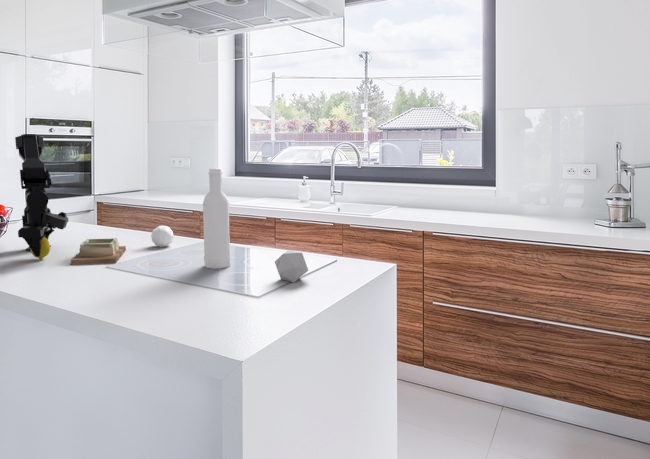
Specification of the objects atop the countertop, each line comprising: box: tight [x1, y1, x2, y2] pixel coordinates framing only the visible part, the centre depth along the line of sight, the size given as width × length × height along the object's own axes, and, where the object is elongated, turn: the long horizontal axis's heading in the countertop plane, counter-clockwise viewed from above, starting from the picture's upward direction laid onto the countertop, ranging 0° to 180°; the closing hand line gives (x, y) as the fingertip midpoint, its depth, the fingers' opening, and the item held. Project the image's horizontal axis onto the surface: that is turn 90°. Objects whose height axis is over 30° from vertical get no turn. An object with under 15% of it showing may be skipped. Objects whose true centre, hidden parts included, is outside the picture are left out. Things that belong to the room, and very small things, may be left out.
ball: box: [150, 225, 174, 248], centre depth 189 cm, size 8×8×8 cm
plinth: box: [70, 237, 127, 266], centre depth 171 cm, size 20×13×5 cm, turn 12°
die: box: [274, 249, 309, 283], centre depth 145 cm, size 8×9×10 cm
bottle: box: [202, 167, 231, 270], centre depth 158 cm, size 8×8×30 cm
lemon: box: [29, 237, 51, 261], centre depth 166 cm, size 6×6×8 cm
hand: (40, 254), depth 166 cm, fingers closed on lemon, 5 cm apart
